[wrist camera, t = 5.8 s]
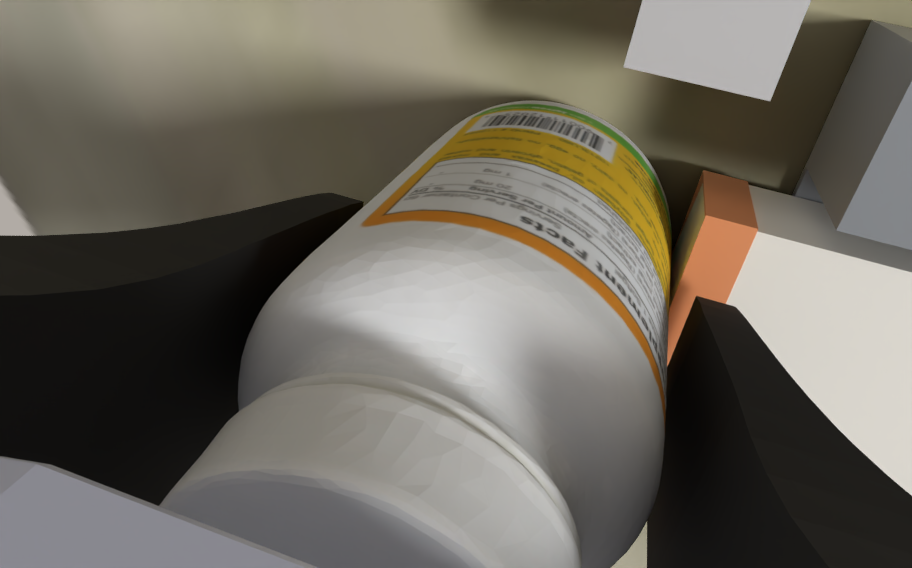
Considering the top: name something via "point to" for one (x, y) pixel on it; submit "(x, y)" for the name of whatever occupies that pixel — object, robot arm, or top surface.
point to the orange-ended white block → (808, 306)
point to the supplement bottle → (462, 363)
